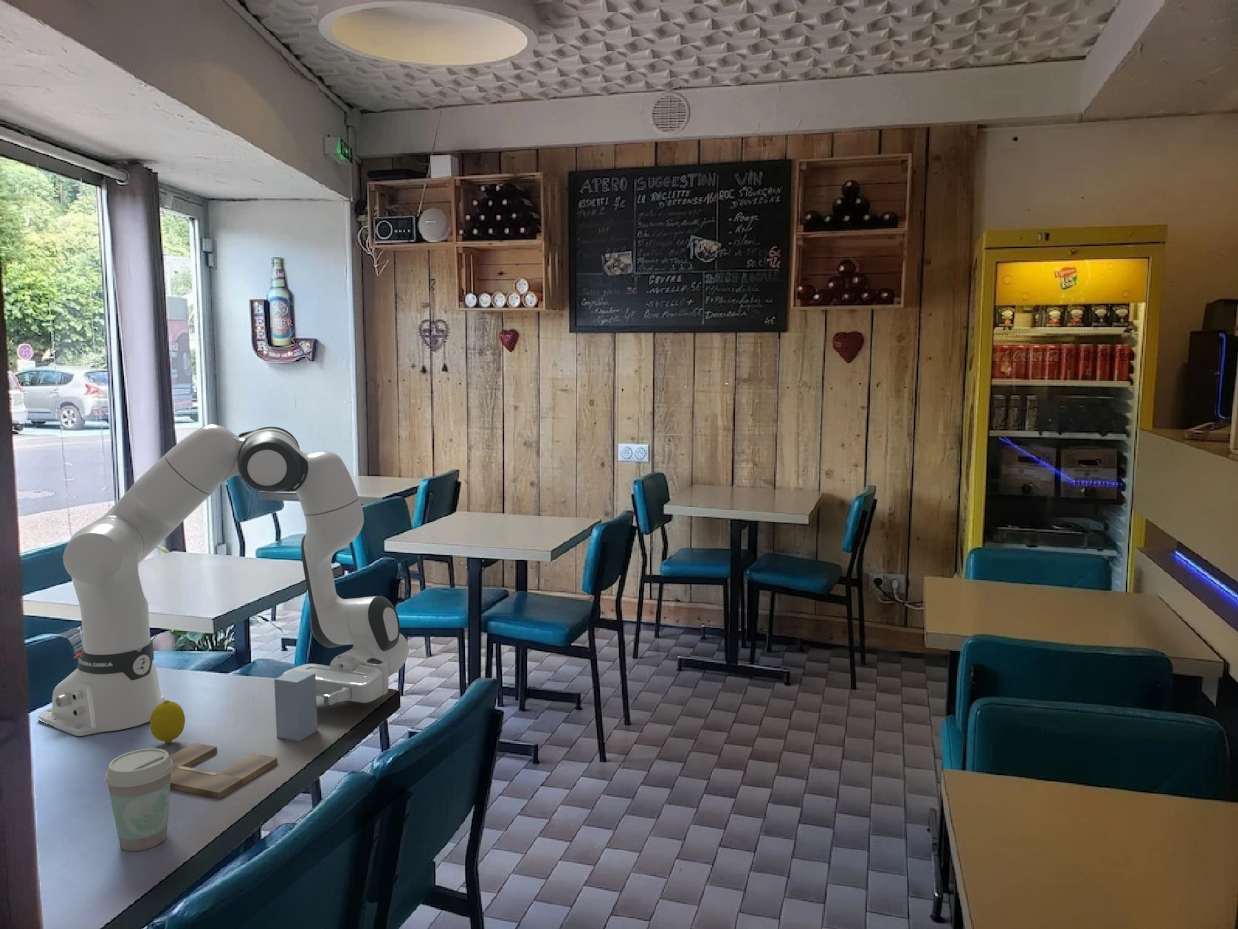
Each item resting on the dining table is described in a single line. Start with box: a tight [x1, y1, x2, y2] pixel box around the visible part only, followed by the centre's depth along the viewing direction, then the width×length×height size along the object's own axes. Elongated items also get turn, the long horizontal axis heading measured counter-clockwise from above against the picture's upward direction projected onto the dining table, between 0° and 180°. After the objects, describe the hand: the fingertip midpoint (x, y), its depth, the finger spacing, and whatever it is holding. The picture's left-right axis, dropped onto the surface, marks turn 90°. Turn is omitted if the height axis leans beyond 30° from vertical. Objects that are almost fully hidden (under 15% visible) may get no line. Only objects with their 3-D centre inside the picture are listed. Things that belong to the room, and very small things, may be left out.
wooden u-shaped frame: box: [169, 742, 279, 800], centre depth 143 cm, size 18×13×1 cm
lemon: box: [149, 699, 186, 744], centre depth 154 cm, size 6×6×8 cm
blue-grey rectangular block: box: [273, 670, 318, 742], centre depth 158 cm, size 5×5×11 cm
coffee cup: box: [104, 748, 174, 852], centre depth 121 cm, size 9×9×12 cm
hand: (305, 697), depth 160 cm, fingers open, 8 cm apart
